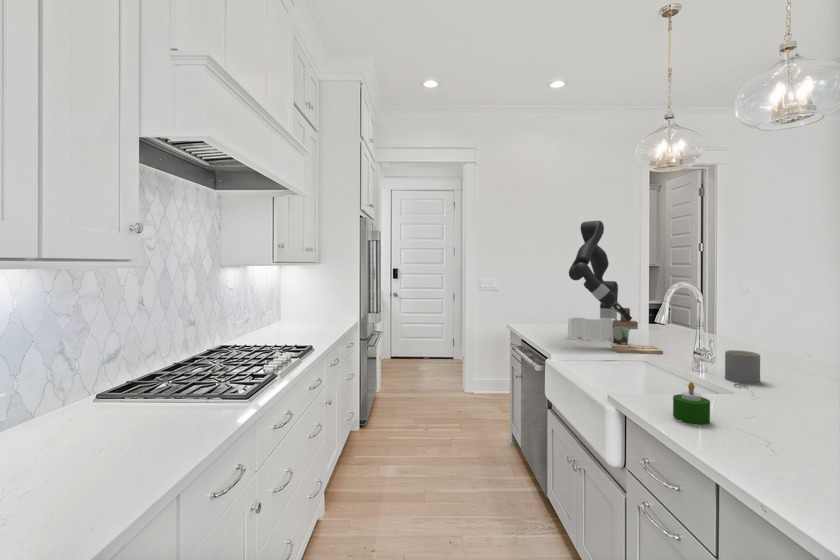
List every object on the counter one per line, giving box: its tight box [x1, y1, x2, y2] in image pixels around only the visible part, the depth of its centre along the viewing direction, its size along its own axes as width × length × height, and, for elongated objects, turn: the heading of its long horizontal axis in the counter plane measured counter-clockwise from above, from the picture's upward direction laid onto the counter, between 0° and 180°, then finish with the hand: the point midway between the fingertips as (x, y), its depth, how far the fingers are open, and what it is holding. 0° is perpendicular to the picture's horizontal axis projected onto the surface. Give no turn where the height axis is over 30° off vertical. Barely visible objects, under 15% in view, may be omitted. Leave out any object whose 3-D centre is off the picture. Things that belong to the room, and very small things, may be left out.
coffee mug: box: [724, 349, 761, 385], centre depth 151 cm, size 13×10×10 cm
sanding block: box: [613, 307, 639, 330], centre depth 206 cm, size 6×10×10 cm, turn 75°
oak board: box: [610, 343, 664, 355], centre depth 205 cm, size 14×20×2 cm
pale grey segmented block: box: [567, 316, 615, 342], centre depth 239 cm, size 25×10×12 cm, turn 72°
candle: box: [672, 381, 711, 426], centre depth 111 cm, size 8×8×10 cm
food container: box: [612, 326, 631, 345], centre depth 223 cm, size 12×6×10 cm, turn 179°
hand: (629, 318), depth 205 cm, fingers closed on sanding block, 3 cm apart
